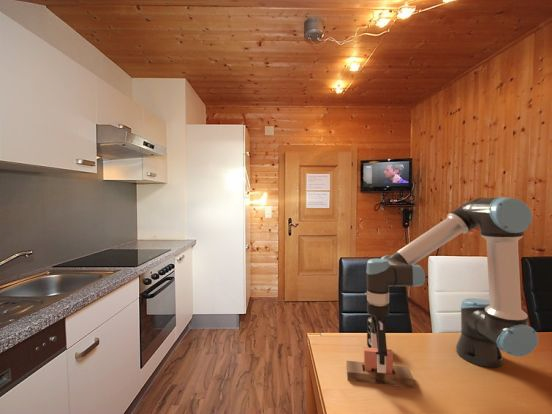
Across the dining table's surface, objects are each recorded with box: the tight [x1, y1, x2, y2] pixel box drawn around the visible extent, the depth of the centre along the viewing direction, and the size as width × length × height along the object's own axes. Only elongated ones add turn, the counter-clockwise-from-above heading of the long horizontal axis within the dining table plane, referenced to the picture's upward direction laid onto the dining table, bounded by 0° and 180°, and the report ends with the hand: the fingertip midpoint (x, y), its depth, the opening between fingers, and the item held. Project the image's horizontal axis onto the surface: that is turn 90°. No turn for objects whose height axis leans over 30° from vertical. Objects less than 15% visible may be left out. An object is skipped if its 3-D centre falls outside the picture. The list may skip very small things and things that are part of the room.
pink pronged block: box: [363, 346, 394, 374], centre depth 98 cm, size 10×3×10 cm, turn 78°
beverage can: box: [366, 317, 373, 348], centre depth 118 cm, size 7×7×12 cm
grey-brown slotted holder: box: [346, 360, 415, 388], centre depth 98 cm, size 22×7×3 cm, turn 78°
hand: (378, 360), depth 98 cm, fingers open, 13 cm apart
